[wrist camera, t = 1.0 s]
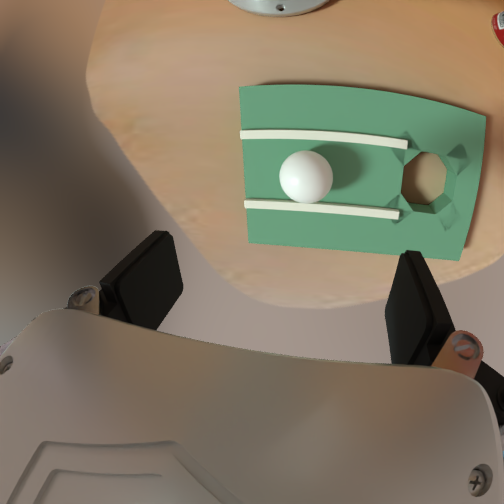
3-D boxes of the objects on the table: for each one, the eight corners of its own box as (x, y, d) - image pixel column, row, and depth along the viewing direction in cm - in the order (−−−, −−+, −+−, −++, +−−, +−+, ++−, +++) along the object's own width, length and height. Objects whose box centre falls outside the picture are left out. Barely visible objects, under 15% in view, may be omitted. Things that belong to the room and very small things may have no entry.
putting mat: (246, 88, 23) (237, 86, 21) (474, 114, 18) (488, 117, 15) (254, 232, 31) (247, 245, 29) (451, 249, 26) (460, 263, 23)
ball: (282, 146, 23) (274, 154, 20) (333, 148, 22) (335, 157, 18) (283, 192, 26) (275, 210, 22) (331, 195, 24) (332, 213, 21)
